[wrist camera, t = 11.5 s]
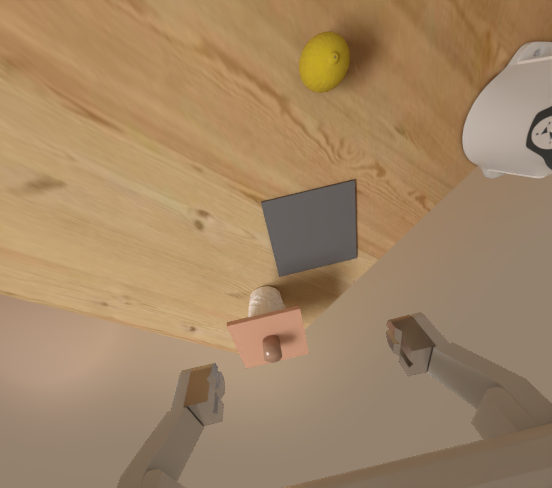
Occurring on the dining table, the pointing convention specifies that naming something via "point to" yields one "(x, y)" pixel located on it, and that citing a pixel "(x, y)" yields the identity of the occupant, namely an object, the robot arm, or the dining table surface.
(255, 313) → the white cup
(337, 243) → the mat
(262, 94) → the dining table surface
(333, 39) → the lemon
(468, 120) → the robot arm
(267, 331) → the lid
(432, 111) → the dining table surface
